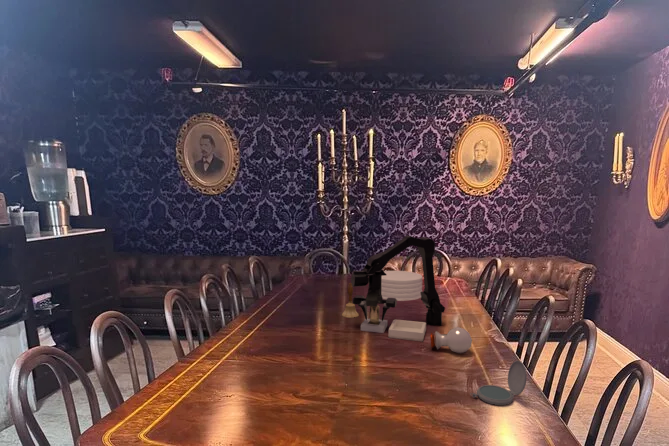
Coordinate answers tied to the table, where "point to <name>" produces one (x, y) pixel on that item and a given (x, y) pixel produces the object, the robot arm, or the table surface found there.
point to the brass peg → (374, 315)
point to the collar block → (374, 326)
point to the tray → (407, 330)
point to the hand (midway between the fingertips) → (374, 320)
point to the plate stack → (401, 285)
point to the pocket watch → (503, 395)
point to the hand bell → (350, 305)
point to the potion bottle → (452, 340)
